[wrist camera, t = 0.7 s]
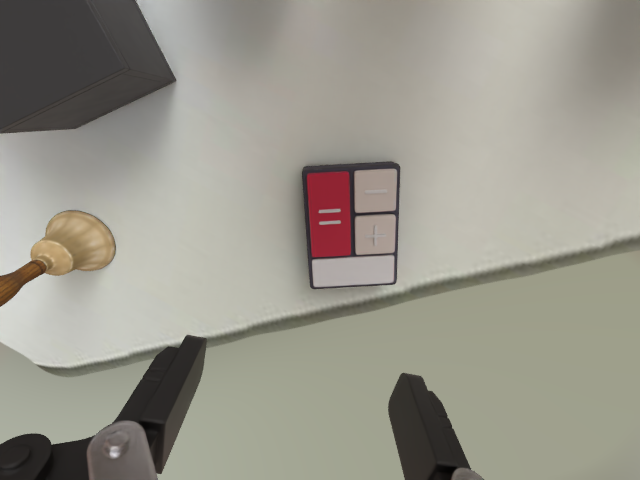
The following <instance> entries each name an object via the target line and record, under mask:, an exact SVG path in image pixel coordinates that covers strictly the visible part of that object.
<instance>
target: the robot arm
mask: <svg viewBox="0 0 640 480" xmlns="http://www.w3.org/2000/svg"><path fill="white" fill-rule="evenodd" d="M206 343H207V338H203V337H197V336H191V335H187V336H186V337H185V338H184V340H183V342H182V344H181V346H180V347H179V348H175V347H169V346H168V347H167V348H166V349H164V350H163V351H162V352H160V353H159V354H158V355H157V356H156V357H155V359H154V360H153V362H152V363H151V365H150V366H149V369H148V370H147V371H146V373H145V374H144V376H143V378H142V380H141V381H140V382H139V384H138V385H137V387H136V389H135V390H134V392H133V394H132V395H131V397H130V398H129V400H128V401H127V403H126V404H125V406H124V407H123V409H122V411H121V412H120V414H119V416H118V417H117V418H116V420H115V421H114V422H113V423H112V424H110V425H108V426H107V427H105V428H103V429H102V430H101V431H99V432H98V433H97V434H96V435H94V436H92V437H89V438H86V439H82V440H78V441H72V442H65V443H60V444H53V445H51V442H50V440H49V439H48V438H47V437H46V436H44V435H41V434H25V435H21V436H18V437H15V438H12V439H10V440H8V441H6V442H4V443H2V444H0V480H158V478H157V474H156V473H158V474H161V473H162V471H163V469H164V466H165V464H166V461H167V459H168V457H169V454H170V452H171V449H172V447H173V445H174V442H175V440H176V437H177V435H178V433H179V430H180V428H181V425H182V423H183V421H184V418H185V416H186V413H187V411H188V409H189V406H190V404H191V401H192V399H193V397H194V394H195V392H196V389H197V387H198V384H199V382H200V379H201V375H202V371H203V366H204V358H205V351H206ZM388 408H389V409H388V411H389V417H390V421H391V425H392V429H393V433H394V437H395V441H396V445H397V449H398V453H399V457H400V461H401V465H402V470H403V474H404V477H405V480H484V479H483V478H482V477H481V476H480V475H478V474H477V473H475V472H474V471H472V470H471V468H470V466H469V464H468V461H467V459H466V457H465V454H464V452H463V450H462V448H461V445H460V443H459V441H458V439H457V436H456V434H455V432H454V429H452V425H451V423H450V420H449V419H448V418H447V413H446V411H445V409H444V407H443V404H442V403H441V401H440V400H439V399H438V398H437V396H436V395H435V394H434V393H433V392H432V391H428V390H427V387H426V385H425V382H424V380H423V378H422V377H421V376H417V375H412V374H407V373H402V374H401V375H400V377H399V379H398V381H397V384H396V386H395V388H394V391H393V393H392V395H391V397H390V400H389V406H388Z"/></svg>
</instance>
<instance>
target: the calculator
mask: <svg viewBox="0 0 640 480" xmlns="http://www.w3.org/2000/svg"><path fill="white" fill-rule="evenodd" d="M302 179H303V193H304V208H305V222H306V237H307V251H308V266H309V280H310V287H311V288H312V289H324V288H342V287H360V286H378V285H393V284H395V283H396V281H397V251H398V219H399V188H400V166H399V165H398V164H396V163H394V162H375V163H356V164H338V165H320V166H306V167H304V168H303V171H302Z"/></svg>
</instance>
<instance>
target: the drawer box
mask: <svg viewBox="0 0 640 480" xmlns="http://www.w3.org/2000/svg"><path fill="white" fill-rule="evenodd" d="M175 81H176V79H175V77H174V75H173V73H172V71H171V69H170V67H169V65H168V63H167V61H166V59H165V57H164V55H163V53H162V52H161V50H160V48H159V46H158V44H157V42H156V40H155V38H154V36H153V34H152V32H151V30H150V28H149V26H148V24H147V22H146V21H145V19H144V17H143V15H142V13H141V11H140V9H139V7H138V5H137V3H136V1H135V0H0V133H16V132H32V131H47V130H63V129H76V128H78V127H80V126H82V125H84V124H86V123H89V122H91V121H93V120H95V119H97V118H99V117H101V116H103V115H105V114H107V113H110V112H112V111H114V110H116V109H118V108H120V107H122V106H124V105H126V104H129V103H131V102H133V101H135V100H137V99H139V98H141V97H143V96H145V95H147V94H150V93H152V92H154V91H156V90H158V89H160V88H162V87H164V86H166V85H169V84H171V83H173V82H175Z"/></svg>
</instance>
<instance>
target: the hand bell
mask: <svg viewBox="0 0 640 480" xmlns="http://www.w3.org/2000/svg"><path fill="white" fill-rule="evenodd" d="M114 255H115V241H114V238H113V236H112V234H111V232H110V231H109V229H108V228H107V227H106V226H105V225H104V224H103V223H102V222H101V221H100V220H98V219H97V218H96V217H94V216H92V215H90V214H87V213H85V212H81V211H64V212H61V213H59V214H57V215H55V216H54V217H53V218H52V219H51V220H50V221H49V223H48V225H47V228H46V233H45V237H44V238H43V239H42V240H40V241H39V242H37V243H36V244H35V245H34V246H33V247H32V249H31V259H32V261H30V262H29V263H28V264H26V265H24V266H23V267H21V268H19V269H18V270H16V271H15V272H12V273H10V274H7V275H2V276H0V307H1V306H2V305H4V304H5V303H6V302H8V301H9V300H10V299H12V298H13V297H14V296H15V295H16V294H17V293H18V291H19V290H20V289H21V288H22V286H23V285H25V284H26V283H27V282H29V281H31V280H33V279H34V278H36V277H38V276H39V275H42V274H43V273H46V274H49V275H56V276H59V275H64V274H66V273H69V272H71V271H73V270H75V269H77V270H83V271H93V270H98V269H101V268H103V267H105V266H107V265H108V264H109V263H110V262H111V261H112V259H113V257H114Z"/></svg>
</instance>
